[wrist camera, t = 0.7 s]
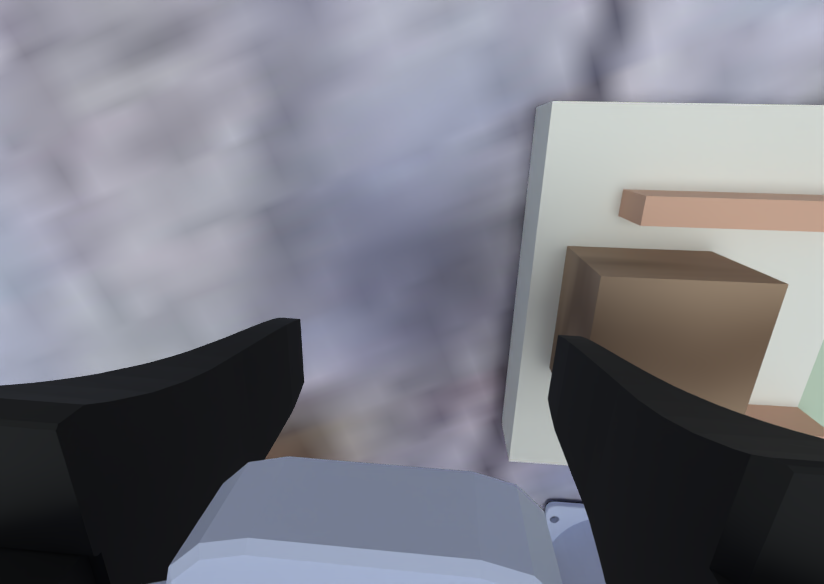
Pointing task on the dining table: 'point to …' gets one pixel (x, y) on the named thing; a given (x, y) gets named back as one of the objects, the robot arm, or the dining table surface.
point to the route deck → (674, 233)
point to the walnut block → (673, 315)
